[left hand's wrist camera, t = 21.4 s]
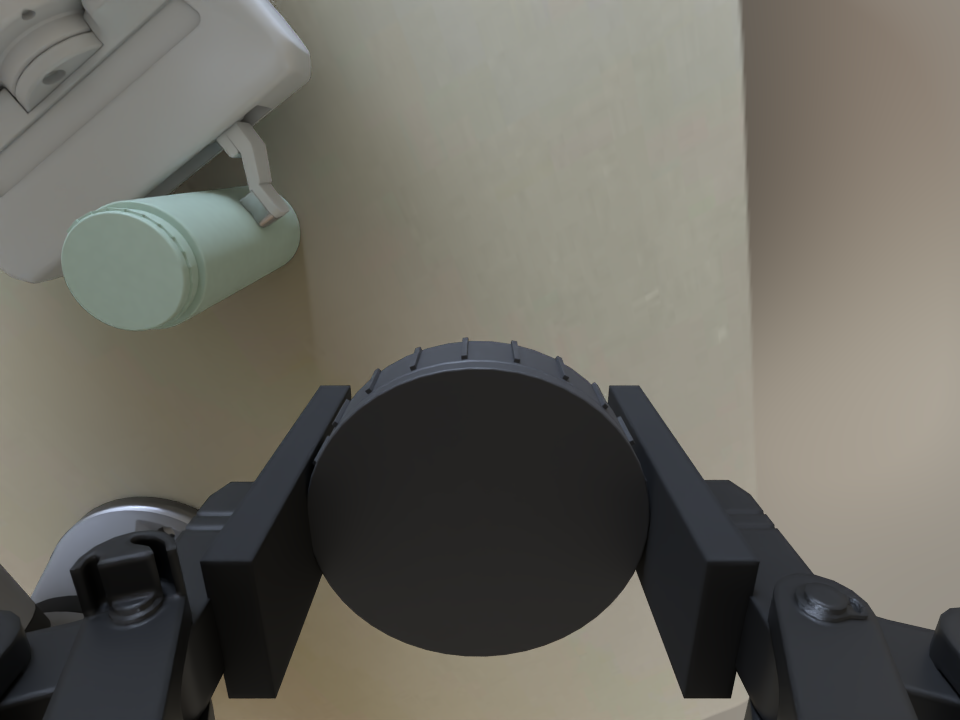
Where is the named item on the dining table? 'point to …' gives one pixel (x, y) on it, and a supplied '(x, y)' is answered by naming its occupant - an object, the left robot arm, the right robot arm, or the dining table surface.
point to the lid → (478, 500)
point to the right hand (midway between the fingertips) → (231, 254)
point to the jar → (170, 256)
